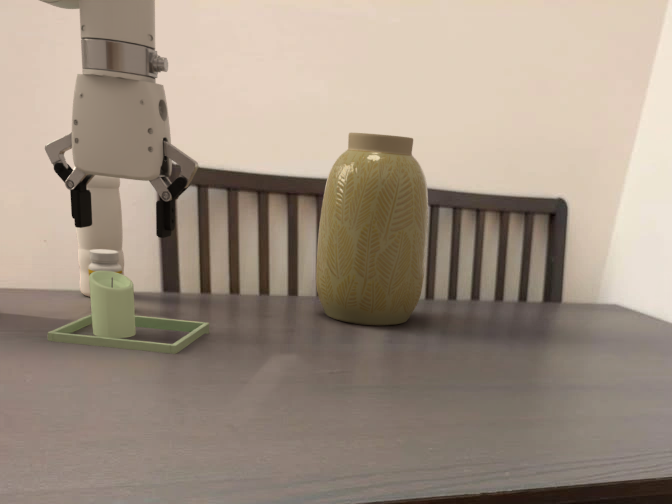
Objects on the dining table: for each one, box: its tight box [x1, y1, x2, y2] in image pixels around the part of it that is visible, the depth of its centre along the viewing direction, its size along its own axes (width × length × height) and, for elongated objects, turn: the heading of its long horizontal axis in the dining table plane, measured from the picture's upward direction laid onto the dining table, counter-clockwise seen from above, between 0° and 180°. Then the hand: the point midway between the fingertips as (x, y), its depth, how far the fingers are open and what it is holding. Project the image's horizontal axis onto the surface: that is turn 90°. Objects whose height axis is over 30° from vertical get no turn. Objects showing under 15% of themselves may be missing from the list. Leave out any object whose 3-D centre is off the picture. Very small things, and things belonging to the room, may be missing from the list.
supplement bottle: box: [88, 249, 122, 285], centre depth 108 cm, size 5×5×8 cm
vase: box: [315, 132, 429, 327], centre depth 114 cm, size 17×17×27 cm
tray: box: [47, 313, 210, 355], centre depth 90 cm, size 15×13×2 cm
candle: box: [89, 271, 137, 339], centre depth 89 cm, size 5×5×8 cm
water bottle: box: [72, 165, 125, 298], centre depth 114 cm, size 7×7×25 cm
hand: (123, 231), depth 85 cm, fingers open, 9 cm apart
